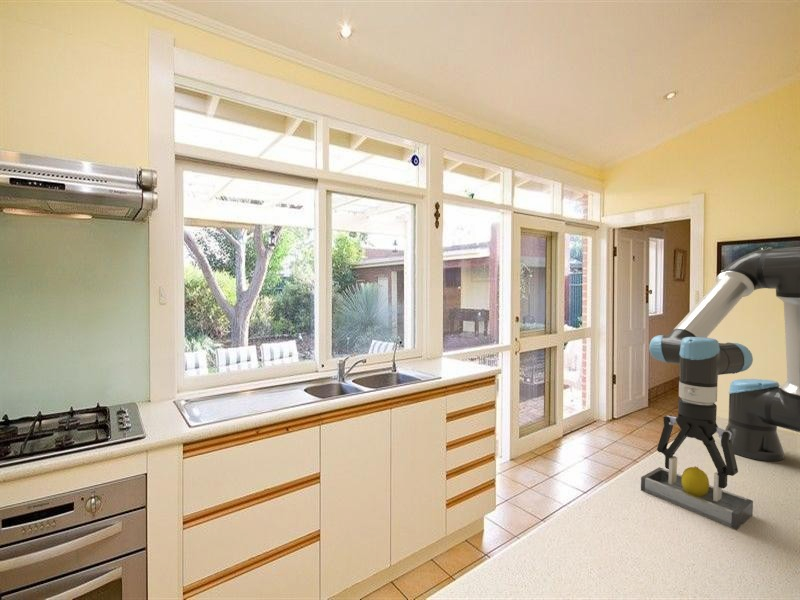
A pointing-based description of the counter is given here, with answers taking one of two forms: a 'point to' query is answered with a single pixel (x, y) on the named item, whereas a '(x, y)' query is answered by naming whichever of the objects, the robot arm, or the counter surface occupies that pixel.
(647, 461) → the counter surface
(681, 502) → the tray
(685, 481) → the lemon
